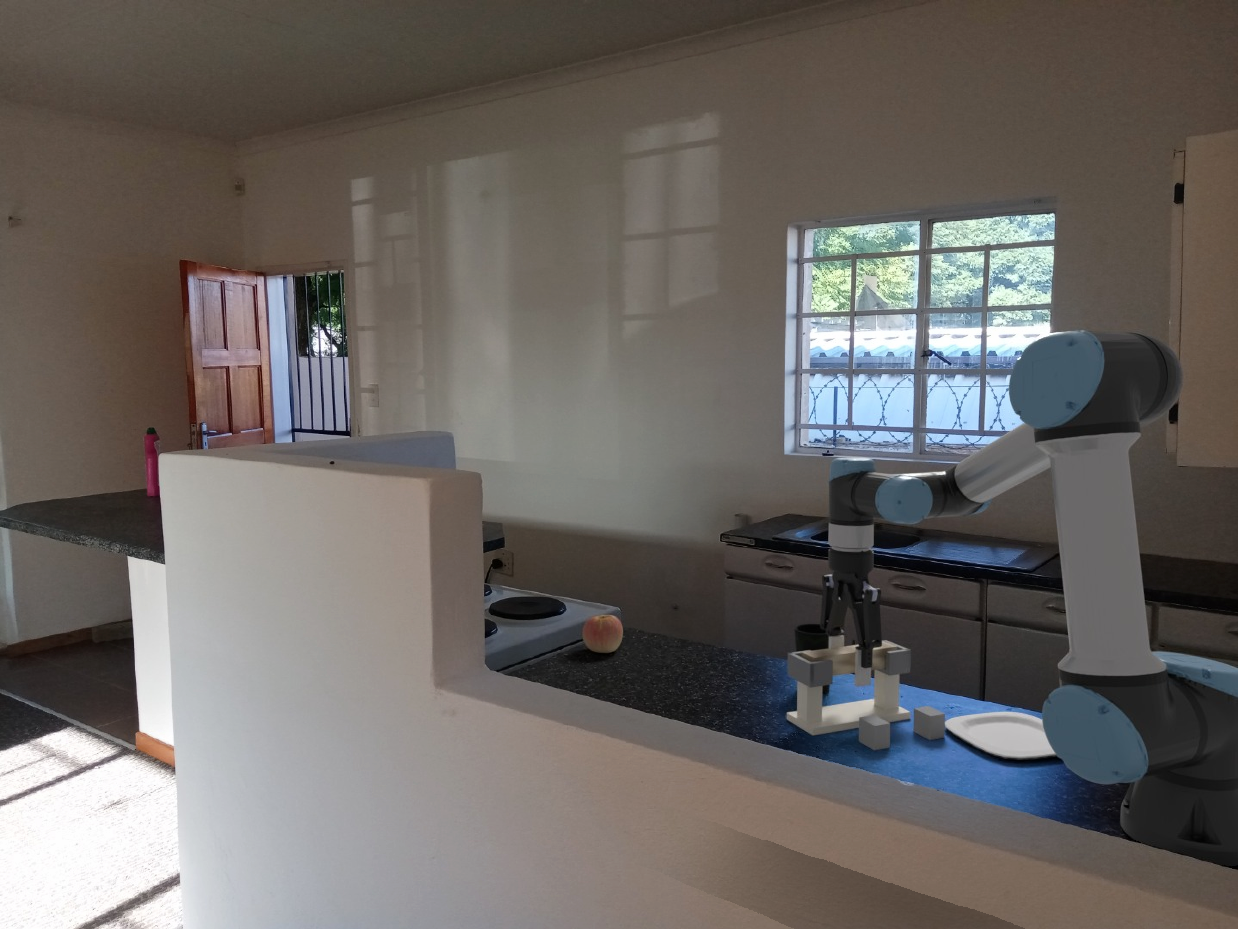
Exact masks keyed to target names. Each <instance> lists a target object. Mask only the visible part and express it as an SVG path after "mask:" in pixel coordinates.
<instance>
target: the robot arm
mask: <svg viewBox="0 0 1238 929" xmlns="http://www.w3.org/2000/svg"><path fill="white" fill-rule="evenodd" d="M1183 385H1184V371H1183V366H1182V363H1181V361H1180V358H1179V357H1178V356H1177V354H1176V353H1175V351H1174V350H1173V349H1172V347H1170V346H1169V345H1168V344H1167V343H1165V342H1164V341H1162V340H1161V339H1159V338H1157V337H1154V336H1153V335H1149V334H1146V333H1141V332H1110V331H1109V332H1108V331H1091V330H1082V329H1075V330H1068V331H1060V332H1059V331H1058V332H1052V333H1048V334H1045V335H1042V336H1040V337H1038V338H1036V339H1035V340H1033V341H1032V342H1030V343H1029V344H1028V345H1027V346H1026V348H1024V350H1023V351H1022V353H1021V356H1020V357H1019V358H1017V359H1016V360H1015V363H1014V365H1013V367H1012V371H1011V373H1010V377H1009V383H1008V396H1009V401H1010V404H1011V405H1010V406H1011V408H1012V410H1013V411H1014V413H1015V414H1016V415H1017V416H1019V419H1020V420H1021V421H1022V423H1021V424H1019V425H1018V426H1015V428H1013V429H1012V430H1010V431H1008V432H1006V433H1005V434H1002V435H1001V436H1000V437H998V438H997V439H995V440H994V441H992V442H990V443H989V444H987V445H985V446H983V447H982V448H981V449H979V450H978V451H976V452H974V453H972V454H971V455H969V456H968V457H965V458H964V459H962V460H961V461H960V462H958V463H956V464H955V465H953V466H951V467H949V468H948V469H946V470H941V471H927V472H926V471H925V472H913V473H912V472H911V473H909V472H908V473H884V472H883V473H882V472H877V470H876V463H875V461H874V459H872V458H869V457H854V456H853V457H847V456H846V457H837V458H834V459H832V460H831V462H830V465H829V478H828V503H829V504H828V511H829V512H828V518H829V519H828V539H827V540H828V541H827V542H828V545H829V546H830V548H829V549H828V557H827V558H828V563H827V564H828V565H827V566H828V569H829V570H830V571H833V573H832V574H826V575H825V574H824V575H822V576H821V582H822V597H821V608H820V609H821V611H820V621H819V624H820V628H821V629H825V630H826V634H827V635H828V649H829V648H837V647H844V646H845V635H843V634H844V633H845V631H844V630H843V626H844V623H845V619H846V615H847V611H848V609H849V610H850V611H851V613H852V618H853V623H854V624H853V625H854V629H855V633H856V638H857V645H859V646H857V647H855V673H854V687H856V688H858V687H866V686H871V684H872V683H871V682H872V670H871V667H872V657H873V648H877V647H881V646H882V640H883V639H882V638H883V636H882V620H881V619H882V618H881V604H880V603H881V597H882V589H881V588H879V587H877V588H874V587H873V586H871V584H870V580H869V574H870V573H871V572H872V571H873V570H874V565H875V564H874V560H875V558H874V557H875V552H874V550H873V549H872V548H873V546H874V545H875V544H874V541H875V539H874V536H875V534H874V532H875V529H874V526H875V525H874V524H875V519H878V520H881V521H888V522H890V523H893V524H897V525H901V524H904V525H915V524H918V523H920V522H921V521H923V519H934V518H936V519H937V518H948V517H949V518H950V517H968V516H972V515H976V514H980V513H983V512H984V511H985V510H987V509H988V507H989V505H990V504H991V502H992V500H993V499H994V498H996V497H997V496H999V495H1001V494H1003V493H1005V492H1007V491H1008V490H1010V489H1012V488H1014V487H1016V486H1017V485H1020V484H1022V483H1023V482H1026V481H1027V480H1029V479H1031V478H1033V477H1034V476H1037V475H1038V474H1040V473H1042V472H1044V471H1046V470H1049V469H1050V472H1051V480H1052V490H1053V500H1054V501H1053V502H1054V511H1055V520H1056V528H1057V538H1058V548H1059V556H1060V558H1059V559H1060V567H1061V569H1060V570H1061V577H1062V587H1063V595H1064V605H1065V607H1064V608H1065V614H1066V625H1067V634H1068V635H1067V636H1068V643H1069V644H1068V645H1069V652H1067V654H1066V655H1065V656H1064V657H1063V658H1062V659H1060V661H1059V662H1058V663H1057V669H1058V670H1057V672H1058V680H1059V687H1058V688H1055V689H1053V691H1051V693H1049V694H1048V698H1046V699H1045V701H1044V702H1043V705H1042V711H1041V719H1042V722H1043V728H1044V731H1045V734H1046V737H1047V739H1048V742H1049V744H1050V746H1051V747H1052V749H1053V751H1054V752H1055V754H1056V755H1057V756H1056V757H1057V758H1059V759H1061V760H1062V761H1063V763H1064V765H1065V766H1066V767H1067V768H1068V769H1069V770H1070V771H1071V772H1073V773H1074V774H1076V775H1077V776H1079V777H1081V778H1082V779H1084V780H1086V781H1088V782H1091V783H1095V784H1099V785H1114V784H1120V783H1122V784H1123V783H1124V784H1127V783H1130V784H1129V787H1128V789H1127V791H1126V793H1125V796H1124V799H1123V800H1122V803H1121V806H1120V818H1119V819H1120V821H1119V824H1120V826H1121V828H1122V830H1123V831H1124V832H1125V833H1126V835H1128V836H1129V837H1130V838H1131V839H1133V840H1134V841H1135V840H1136V842H1137V841H1139V842H1141V843H1145V844H1147V845H1151V846H1156V847H1160V848H1164V849H1167V850H1170V851H1172V852H1180V853H1183V854H1186V855H1189V856H1192V857H1195V858H1197V859H1203V860H1208V861H1210V862H1214V863H1217V864H1220V865H1226V866H1225V867H1235V866H1236V867H1238V866H1237V865H1238V667H1236V666H1232V665H1230V664H1227V663H1225V662H1220V661H1217V660H1214V659H1210V658H1204V657H1202V656H1201V657H1200V656H1196V655H1195V656H1194V655H1190V654H1184V653H1177V652H1170V651H1152V650H1151V647H1150V646H1151V645H1150V636H1149V628H1148V619H1147V610H1146V602H1145V593H1144V582H1143V573H1142V572H1143V571H1142V565H1141V556H1140V547H1139V537H1138V529H1137V521H1136V520H1137V519H1136V511H1135V502H1134V500H1135V499H1134V494H1133V484H1132V473H1131V466H1130V458H1129V457H1130V456H1129V455H1130V454H1129V451H1130V449H1131V447H1132V446H1133V445H1134V444H1135V443H1136V442H1137V440H1139V438H1141V436H1142V432H1141V428H1143V427H1146V426H1148V425H1150V424H1152V423H1154V422H1155V421H1157V420H1159V419H1160V418H1161V417H1163V416H1164V415H1165V414H1167V413H1168V412H1169V411H1170V410H1171V408H1173V406H1174V405H1175V404H1176V402H1177V401H1178V399H1179V397H1180V395H1181V392H1182V389H1183ZM1015 414H1014V415H1015ZM1139 842H1138V843H1139Z"/></svg>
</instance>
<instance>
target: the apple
mask: <svg viewBox="0 0 1238 929" xmlns="http://www.w3.org/2000/svg"><path fill="white" fill-rule="evenodd" d="M623 634H624V629H623V625H622V622H621V620H620V619H619V618H618V617H617V616H615V615H612V614H599V615H595V616H592V617H590V618H588V619H587V620H586V621H585V623H584V625H583V628H582V640H583V642H584V644H585V646H586V647H587V648H588V649H589V650H590V651H592V652H594V653H600V654H609V653H612V652H615V651H616V650H617V649H618V648H619V646H620V645H621V643H622V640H623Z"/></svg>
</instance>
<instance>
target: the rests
mask: <svg viewBox="0 0 1238 929" xmlns="http://www.w3.org/2000/svg"><path fill="white" fill-rule="evenodd" d="M945 721H946V713H944V712H942V711H939V710H938V709H936V708H934V707H931V706H929V705H925V706H921V707H920V706H919V707H914V708H913V731H912V732H914V733H916V734H918V735H919V736H921V737H923V738H926V739H927V740H929V741H933V740H937V739H942V738H945V731H946V727H945ZM858 742H860V743H861V744H863V745H864V746H866V747H868V748H870V749H871V750H873V751H878V750H884V749H890V748H891V747H890V744H891V722H887V721H885V720H883V719H881V718H879V717H877V716H875V715H871V716H865V717H859V728H858Z"/></svg>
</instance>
